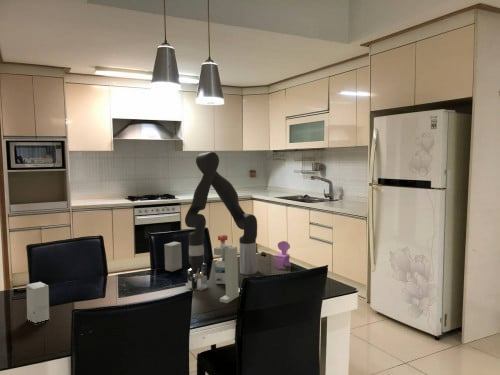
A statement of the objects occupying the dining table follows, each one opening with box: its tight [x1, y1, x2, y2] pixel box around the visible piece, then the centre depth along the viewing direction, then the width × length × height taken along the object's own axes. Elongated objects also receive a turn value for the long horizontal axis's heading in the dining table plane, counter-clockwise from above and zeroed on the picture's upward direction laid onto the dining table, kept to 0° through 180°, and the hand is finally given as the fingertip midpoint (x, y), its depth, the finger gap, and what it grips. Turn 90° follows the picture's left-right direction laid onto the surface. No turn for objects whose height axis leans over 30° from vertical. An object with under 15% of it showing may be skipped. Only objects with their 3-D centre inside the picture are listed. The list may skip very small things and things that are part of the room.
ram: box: [215, 234, 228, 268], centre depth 183 cm, size 5×5×14 cm
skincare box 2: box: [163, 241, 183, 272], centre depth 232 cm, size 8×7×16 cm
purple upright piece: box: [274, 240, 292, 270], centre depth 230 cm, size 8×9×15 cm
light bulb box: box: [214, 262, 226, 285], centre depth 206 cm, size 11×7×11 cm, turn 168°
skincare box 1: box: [26, 281, 50, 323], centre depth 160 cm, size 8×6×15 cm
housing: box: [187, 273, 208, 291], centre depth 196 cm, size 5×8×8 cm, turn 61°
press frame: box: [213, 244, 241, 304], centre depth 182 cm, size 16×9×23 cm, turn 151°
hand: (197, 286), depth 197 cm, fingers closed on housing, 5 cm apart
